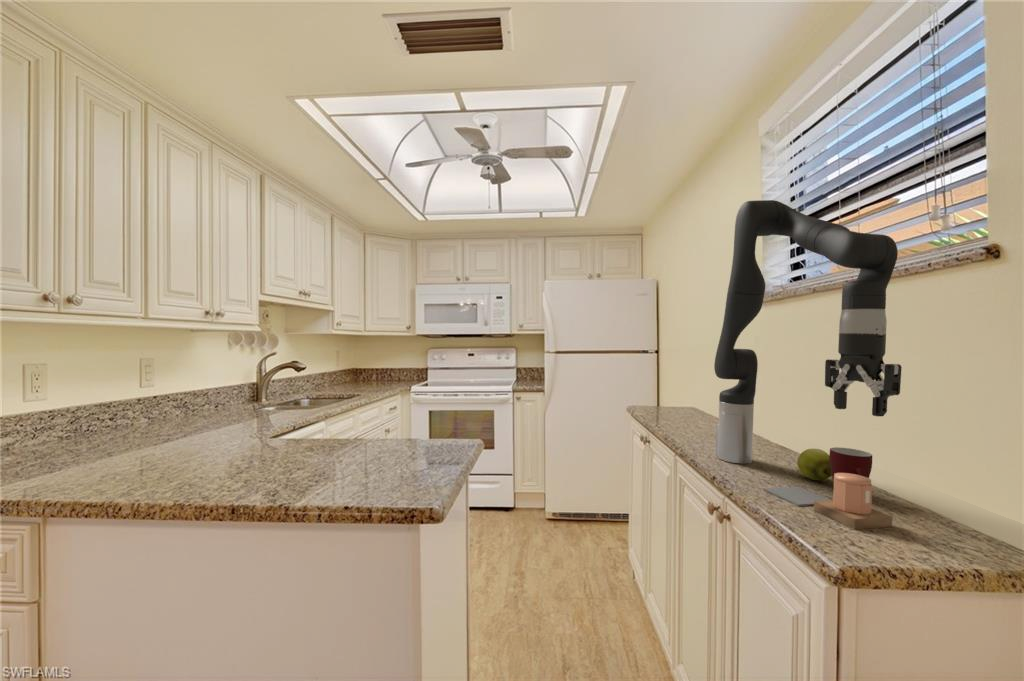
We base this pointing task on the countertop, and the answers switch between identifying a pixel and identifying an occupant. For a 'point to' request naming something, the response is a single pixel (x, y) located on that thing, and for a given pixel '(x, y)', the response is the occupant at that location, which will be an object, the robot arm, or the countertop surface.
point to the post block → (853, 516)
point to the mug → (850, 461)
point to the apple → (815, 464)
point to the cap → (852, 493)
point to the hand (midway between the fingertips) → (858, 412)
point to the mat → (796, 495)
